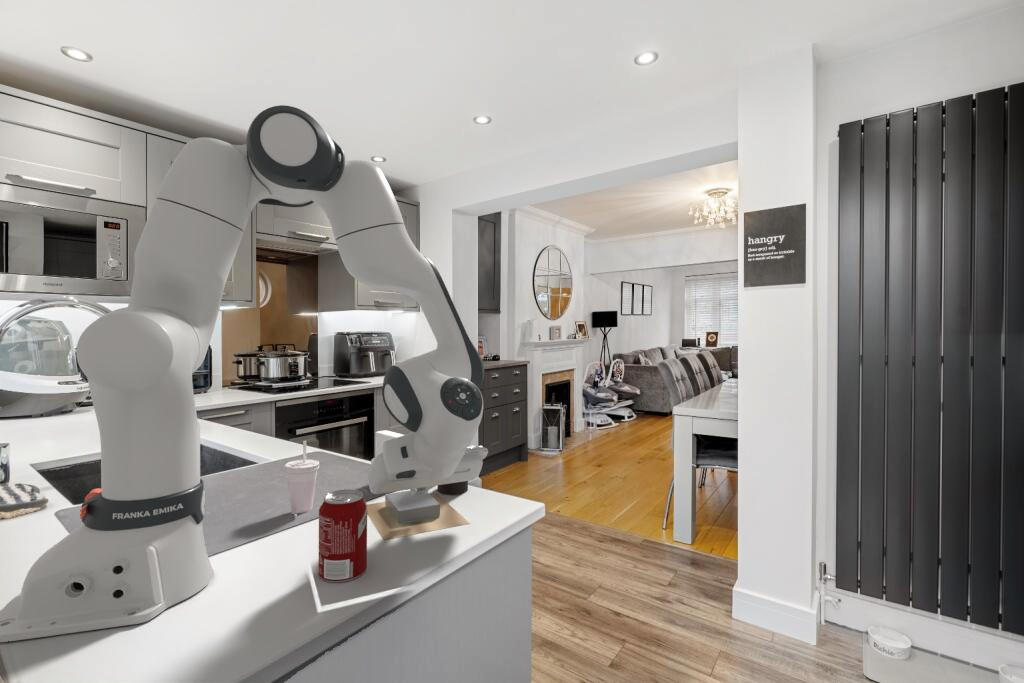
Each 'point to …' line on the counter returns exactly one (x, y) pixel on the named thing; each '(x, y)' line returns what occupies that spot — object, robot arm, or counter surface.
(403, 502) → the tile
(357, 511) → the soda can
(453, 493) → the bottle
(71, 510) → the counter surface
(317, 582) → the counter surface
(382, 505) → the mat
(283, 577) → the counter surface
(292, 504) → the smoothie
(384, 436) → the cylinder with rectangular tab
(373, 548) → the counter surface
